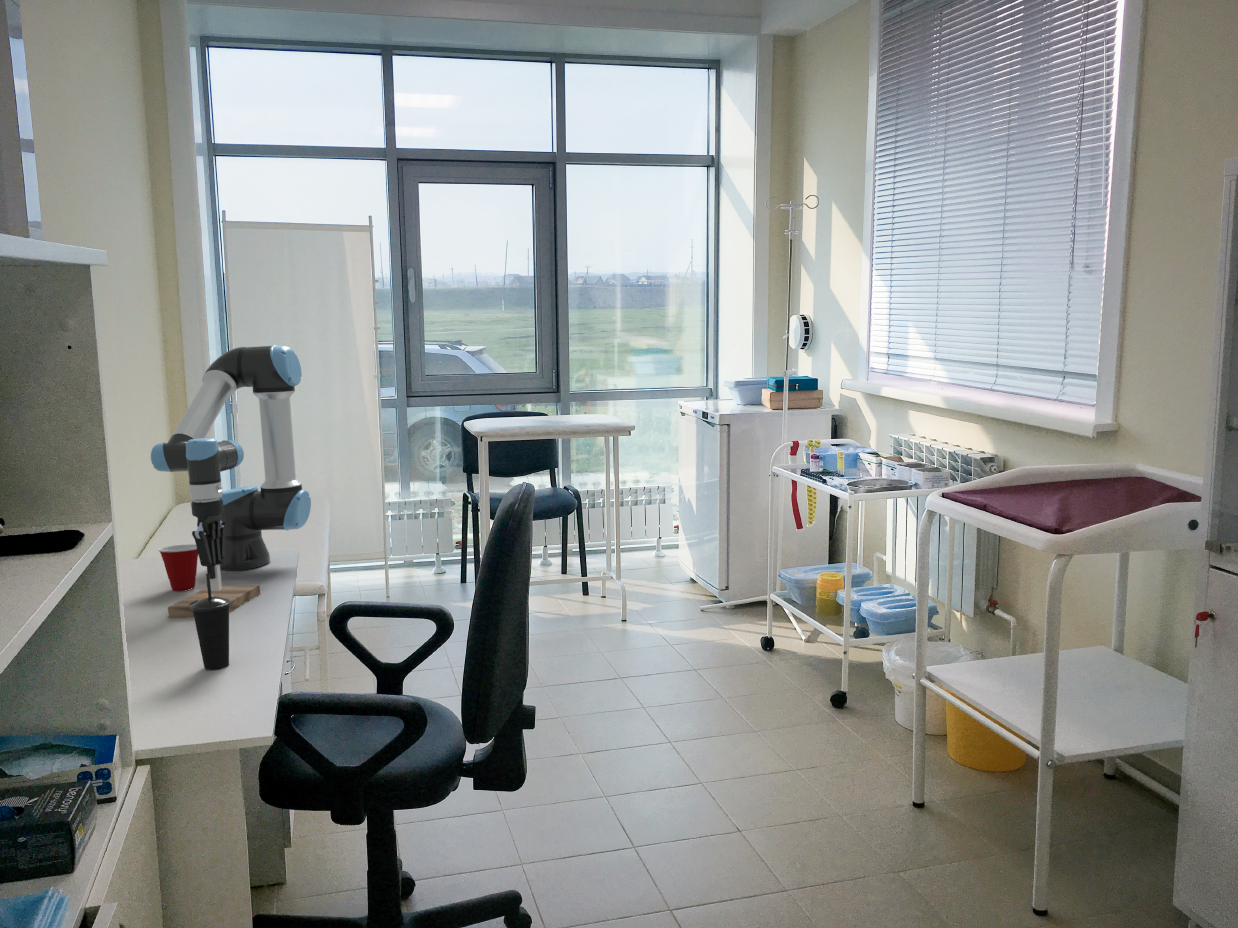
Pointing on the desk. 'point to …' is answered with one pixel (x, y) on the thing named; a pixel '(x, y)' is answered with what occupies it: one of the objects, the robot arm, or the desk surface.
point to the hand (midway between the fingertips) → (215, 589)
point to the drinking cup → (213, 629)
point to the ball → (204, 596)
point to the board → (230, 592)
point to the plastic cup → (180, 565)
